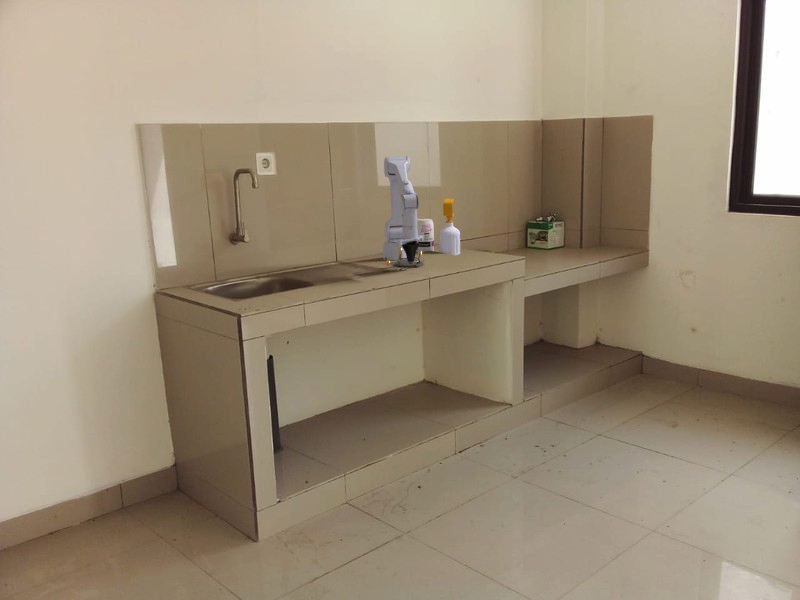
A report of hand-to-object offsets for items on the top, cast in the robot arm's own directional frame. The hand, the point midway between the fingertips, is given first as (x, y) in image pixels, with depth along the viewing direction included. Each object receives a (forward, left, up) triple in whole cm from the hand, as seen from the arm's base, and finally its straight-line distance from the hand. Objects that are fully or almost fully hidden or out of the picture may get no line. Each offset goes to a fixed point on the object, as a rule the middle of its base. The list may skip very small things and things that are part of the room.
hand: (410, 261), depth 260 cm
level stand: (-4, +8, -5) cm, 10 cm away
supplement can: (-11, +48, -5) cm, 49 cm away
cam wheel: (-6, +7, -3) cm, 10 cm away
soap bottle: (+2, +44, -5) cm, 44 cm away
